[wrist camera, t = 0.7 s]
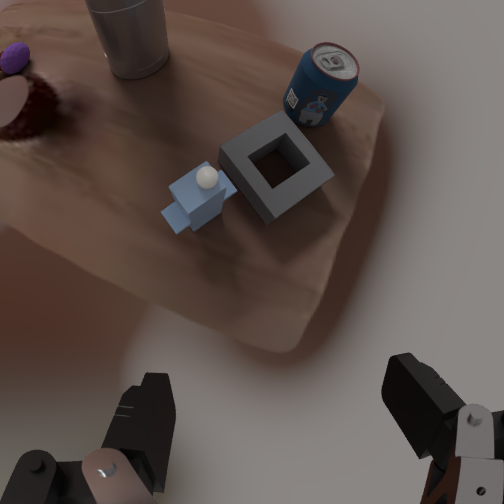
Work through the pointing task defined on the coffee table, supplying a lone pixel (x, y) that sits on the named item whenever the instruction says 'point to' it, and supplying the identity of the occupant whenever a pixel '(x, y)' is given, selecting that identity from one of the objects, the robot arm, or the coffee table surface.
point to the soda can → (320, 84)
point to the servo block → (197, 198)
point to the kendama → (14, 58)
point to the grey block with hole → (295, 153)
